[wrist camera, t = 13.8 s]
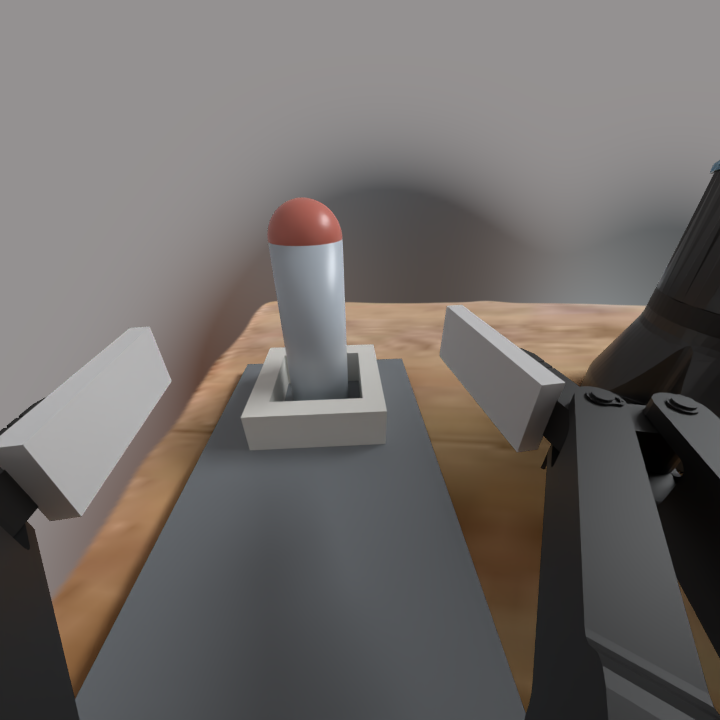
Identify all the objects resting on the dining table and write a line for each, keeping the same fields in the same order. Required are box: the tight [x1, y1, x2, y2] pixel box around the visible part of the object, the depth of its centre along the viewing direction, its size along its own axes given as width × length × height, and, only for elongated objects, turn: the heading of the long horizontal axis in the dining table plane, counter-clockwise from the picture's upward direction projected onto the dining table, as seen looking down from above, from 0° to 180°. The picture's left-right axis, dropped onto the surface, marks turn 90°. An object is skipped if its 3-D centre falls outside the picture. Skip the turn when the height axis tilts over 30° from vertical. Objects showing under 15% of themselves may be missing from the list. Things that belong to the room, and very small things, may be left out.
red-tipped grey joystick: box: [268, 198, 349, 401], centre depth 21 cm, size 4×4×15 cm
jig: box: [75, 345, 526, 720], centre depth 19 cm, size 26×16×4 cm, turn 3°
